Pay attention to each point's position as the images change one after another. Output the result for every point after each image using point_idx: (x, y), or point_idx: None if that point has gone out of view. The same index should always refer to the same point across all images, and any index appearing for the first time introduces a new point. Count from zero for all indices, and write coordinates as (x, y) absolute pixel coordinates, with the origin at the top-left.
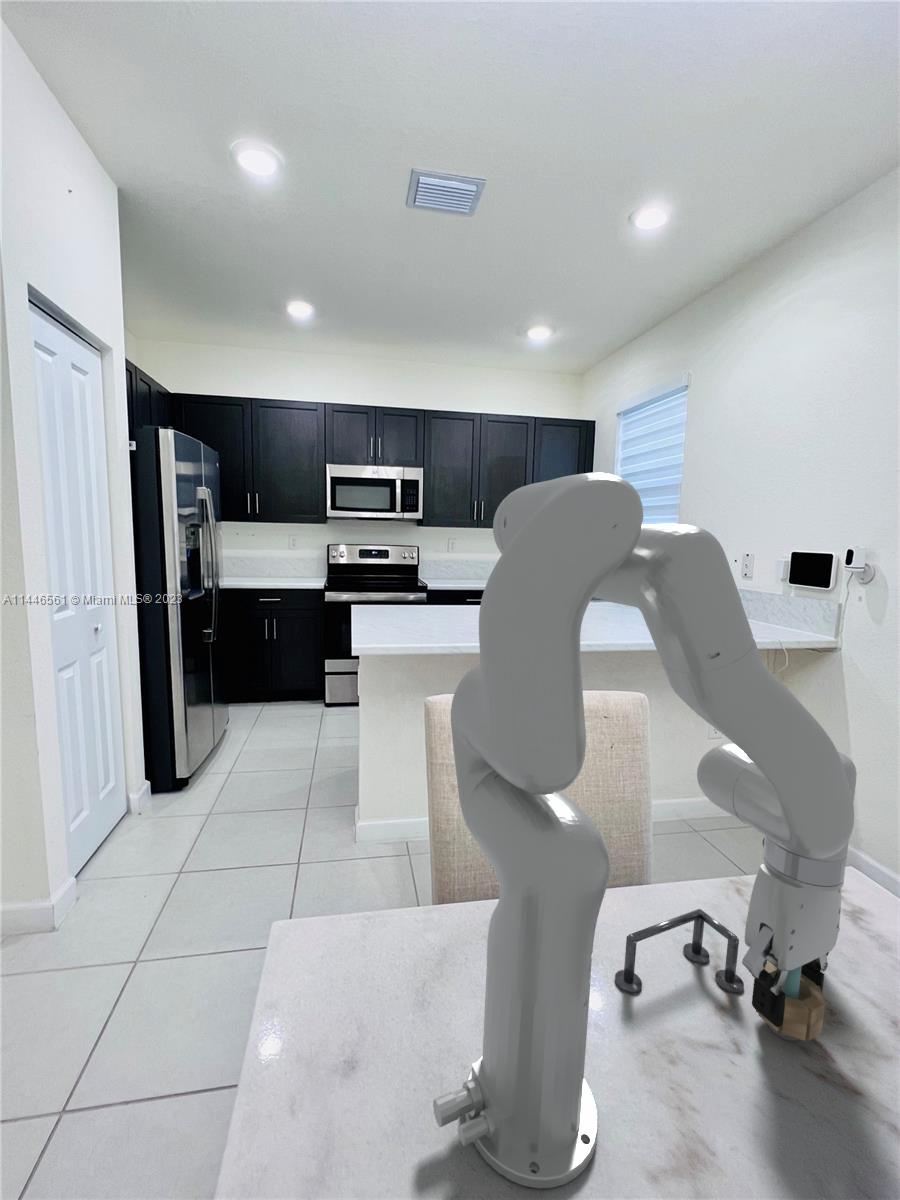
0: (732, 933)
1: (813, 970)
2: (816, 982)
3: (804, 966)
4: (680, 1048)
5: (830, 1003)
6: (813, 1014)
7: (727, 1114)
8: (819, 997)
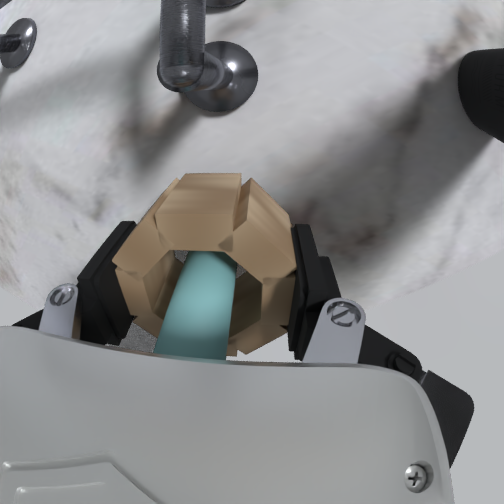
0: (181, 53)
1: (298, 341)
2: (288, 330)
3: (295, 321)
4: (22, 180)
5: (389, 228)
6: None
7: (39, 266)
8: (244, 346)
